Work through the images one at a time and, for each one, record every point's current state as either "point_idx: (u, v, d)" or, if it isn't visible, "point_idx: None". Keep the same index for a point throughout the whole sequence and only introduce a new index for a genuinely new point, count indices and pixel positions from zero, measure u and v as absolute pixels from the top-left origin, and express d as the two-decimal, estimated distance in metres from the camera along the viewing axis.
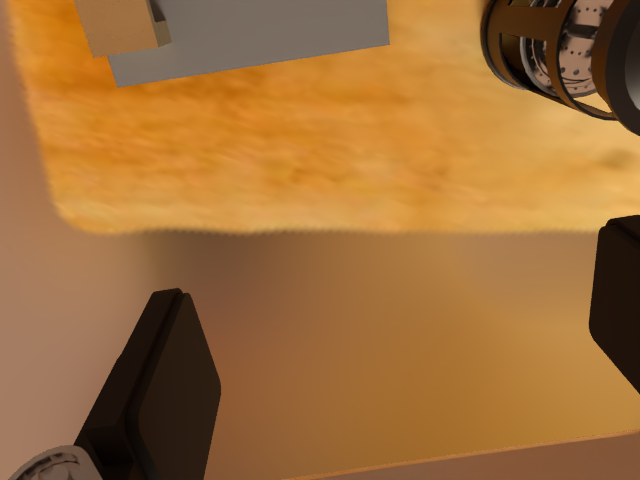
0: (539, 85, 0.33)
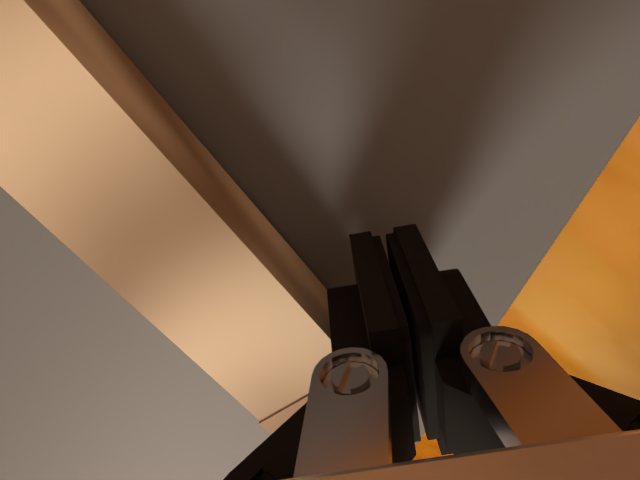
0: None
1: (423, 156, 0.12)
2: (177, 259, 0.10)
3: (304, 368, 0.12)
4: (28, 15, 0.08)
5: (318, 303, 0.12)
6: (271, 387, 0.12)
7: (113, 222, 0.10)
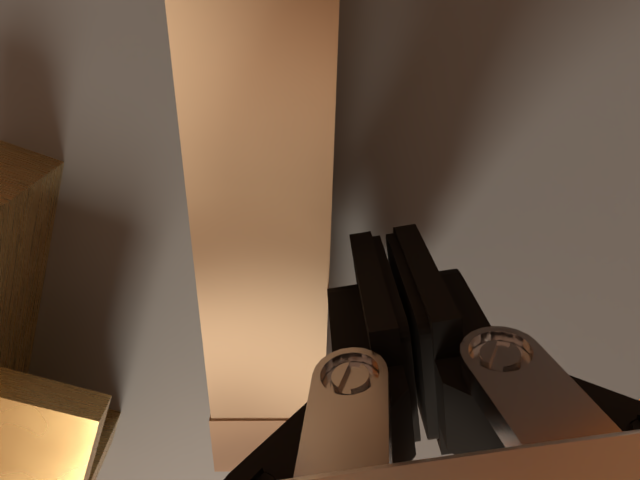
0: None
1: None
2: (268, 262, 0.11)
3: (285, 398, 0.13)
4: (332, 19, 0.08)
5: None
6: (246, 398, 0.12)
7: (243, 203, 0.10)
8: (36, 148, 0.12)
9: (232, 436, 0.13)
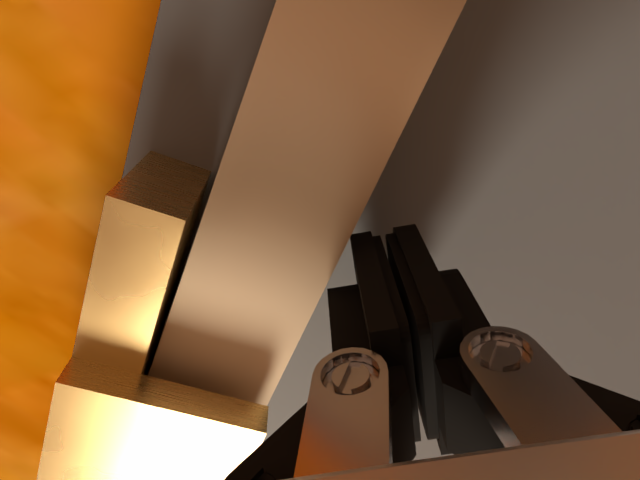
0: None
1: None
2: (277, 244, 0.10)
3: (231, 386, 0.12)
4: (442, 35, 0.08)
5: None
6: (191, 375, 0.12)
7: (280, 177, 0.10)
8: (185, 158, 0.12)
9: None
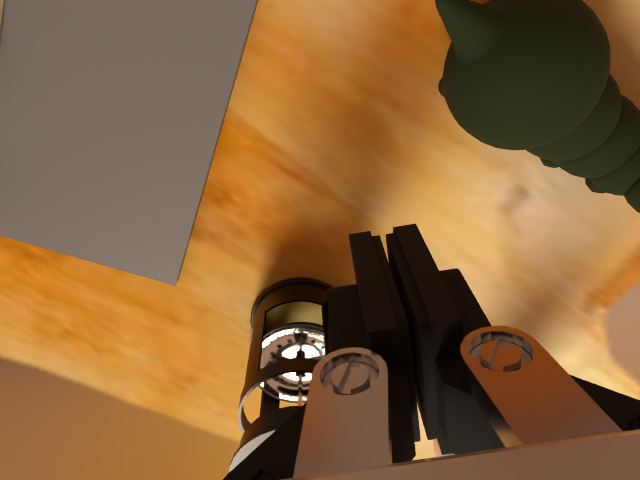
0: None
1: (176, 40, 0.34)
2: None
3: None
4: None
5: None
6: None
7: None
8: None
9: None
